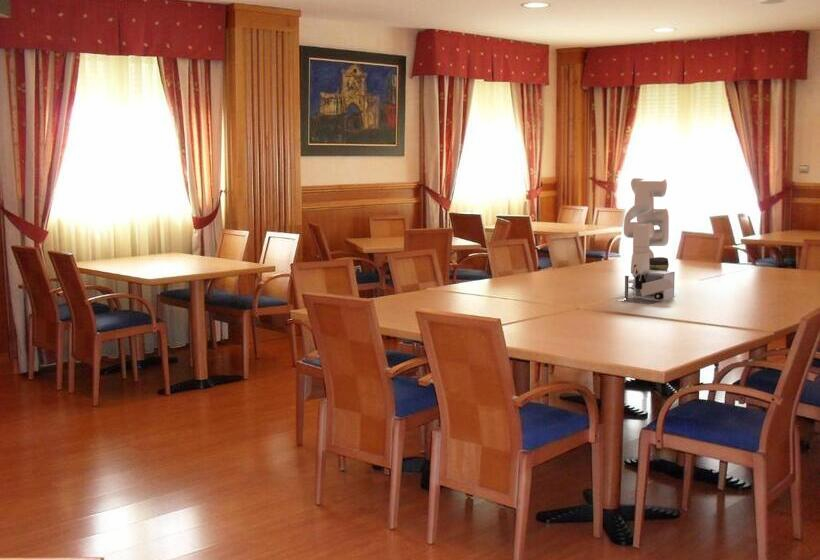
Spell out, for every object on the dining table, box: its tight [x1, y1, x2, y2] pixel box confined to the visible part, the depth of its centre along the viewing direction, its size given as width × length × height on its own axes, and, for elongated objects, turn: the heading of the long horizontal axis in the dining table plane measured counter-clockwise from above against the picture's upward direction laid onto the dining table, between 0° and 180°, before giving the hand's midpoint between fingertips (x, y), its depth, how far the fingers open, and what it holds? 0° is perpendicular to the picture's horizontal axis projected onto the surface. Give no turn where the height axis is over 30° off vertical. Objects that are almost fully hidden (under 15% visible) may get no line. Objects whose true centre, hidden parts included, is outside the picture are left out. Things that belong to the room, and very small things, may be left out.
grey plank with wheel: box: [640, 278, 673, 301], centre depth 464 cm, size 4×10×15 cm
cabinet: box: [633, 270, 675, 302], centre depth 477 cm, size 16×10×13 cm, turn 47°
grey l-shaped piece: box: [624, 275, 662, 305], centre depth 468 cm, size 18×11×11 cm, turn 47°
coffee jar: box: [649, 256, 670, 271], centre depth 489 cm, size 10×8×19 cm
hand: (640, 288), depth 468 cm, fingers closed on grey plank with wheel, 3 cm apart
